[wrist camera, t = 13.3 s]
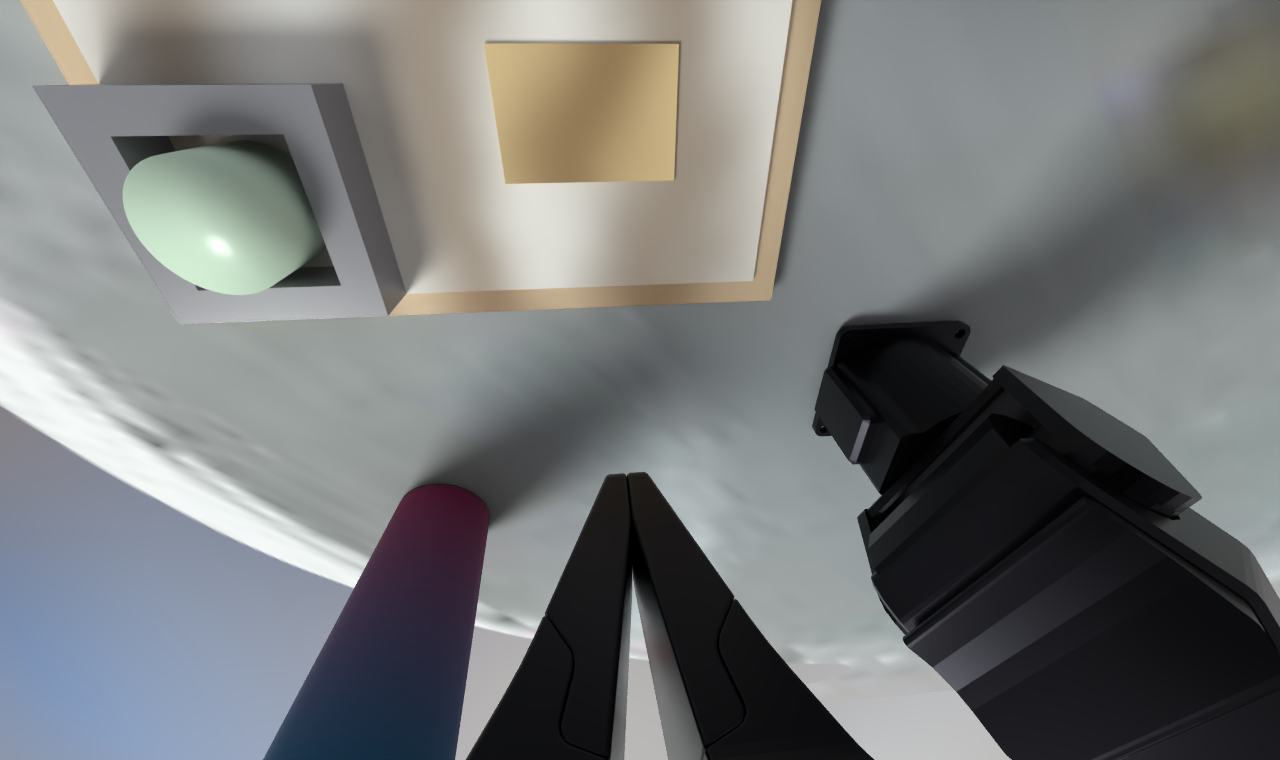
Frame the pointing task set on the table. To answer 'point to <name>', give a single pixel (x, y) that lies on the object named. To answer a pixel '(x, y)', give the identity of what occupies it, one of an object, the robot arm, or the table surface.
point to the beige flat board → (515, 129)
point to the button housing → (304, 112)
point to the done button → (223, 215)
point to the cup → (398, 642)
